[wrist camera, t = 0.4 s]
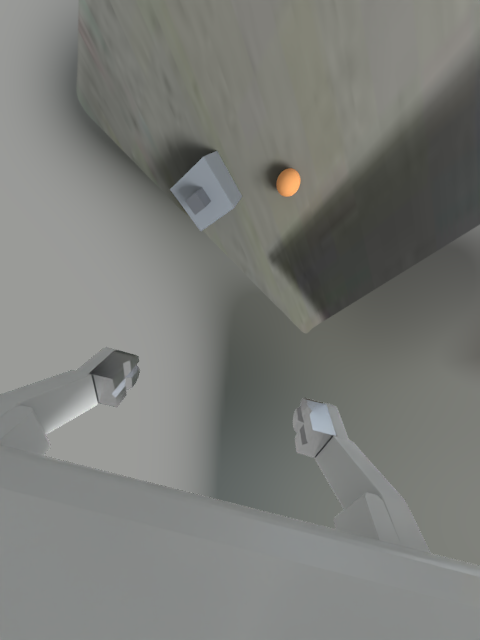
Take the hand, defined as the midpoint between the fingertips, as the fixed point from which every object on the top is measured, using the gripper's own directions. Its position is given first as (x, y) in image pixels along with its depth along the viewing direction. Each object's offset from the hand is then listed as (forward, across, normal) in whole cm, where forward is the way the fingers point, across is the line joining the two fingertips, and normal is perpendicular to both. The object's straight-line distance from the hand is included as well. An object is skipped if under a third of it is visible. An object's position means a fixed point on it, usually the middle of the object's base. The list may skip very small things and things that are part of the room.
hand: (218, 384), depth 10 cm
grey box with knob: (+50, +14, -10) cm, 53 cm away
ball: (+46, -3, -14) cm, 48 cm away
